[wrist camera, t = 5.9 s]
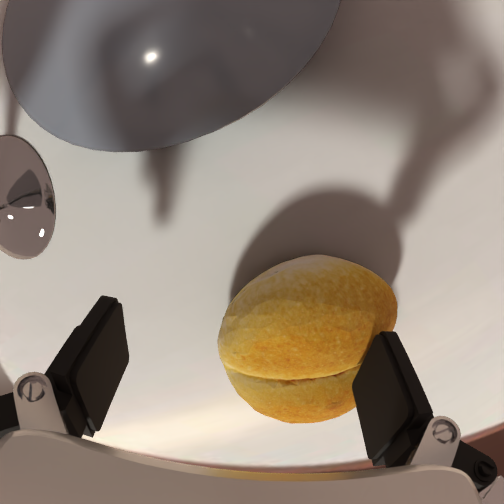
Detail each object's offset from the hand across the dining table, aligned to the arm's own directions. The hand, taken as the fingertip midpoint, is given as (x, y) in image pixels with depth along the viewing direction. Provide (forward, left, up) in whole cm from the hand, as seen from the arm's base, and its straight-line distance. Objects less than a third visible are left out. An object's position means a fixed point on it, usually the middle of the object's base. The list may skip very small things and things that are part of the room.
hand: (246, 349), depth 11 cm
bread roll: (0, 0, -5) cm, 5 cm away
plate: (+6, -13, -4) cm, 15 cm away
